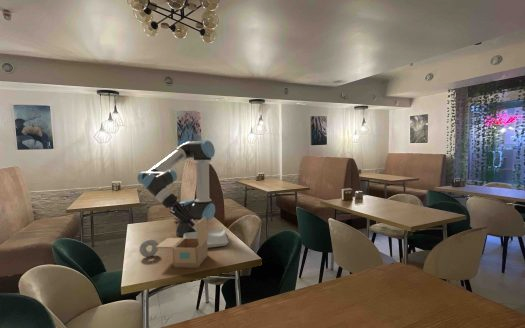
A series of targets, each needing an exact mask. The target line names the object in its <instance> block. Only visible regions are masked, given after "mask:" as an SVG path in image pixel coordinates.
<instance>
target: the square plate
mask: <svg viewBox="0 0 525 328" xmlns="http://www.w3.org/2000/svg"><path fill="white" fill-rule="evenodd" d="M207 231H208V239H207V249H209V248H218V247H225V246H227V244H229V238H228V236H227V233H226V229H224V228H222V229H219V228H218V229H207ZM182 238H183V239H184V238H198V235H197V232H190V233H184V236H183V237H182Z"/></svg>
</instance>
